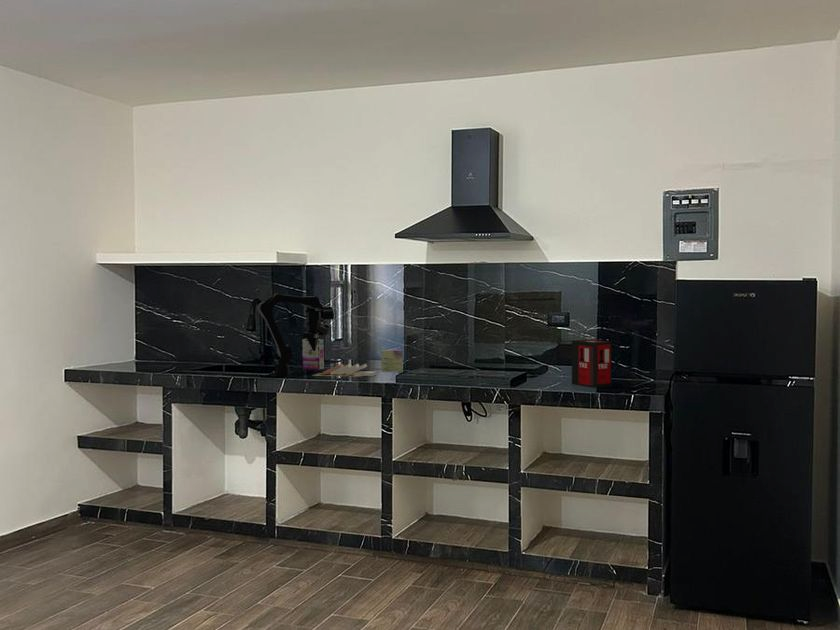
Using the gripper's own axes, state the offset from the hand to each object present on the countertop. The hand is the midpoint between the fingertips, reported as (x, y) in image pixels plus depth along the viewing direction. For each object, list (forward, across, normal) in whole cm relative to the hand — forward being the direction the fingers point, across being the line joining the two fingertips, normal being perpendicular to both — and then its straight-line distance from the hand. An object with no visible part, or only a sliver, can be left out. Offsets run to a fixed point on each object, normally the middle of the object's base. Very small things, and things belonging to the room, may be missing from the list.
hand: (314, 350), depth 423 cm
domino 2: (+10, -8, -12) cm, 18 cm away
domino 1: (+10, -8, -8) cm, 15 cm away
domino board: (+12, -8, -16) cm, 22 cm away
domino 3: (+10, -8, -16) cm, 21 cm away
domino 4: (+10, -8, -20) cm, 24 cm away
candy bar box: (+12, +20, +8) cm, 25 cm away
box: (+13, +12, -38) cm, 42 cm away
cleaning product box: (+14, -22, -140) cm, 142 cm away
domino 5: (+10, -8, -24) cm, 28 cm away
